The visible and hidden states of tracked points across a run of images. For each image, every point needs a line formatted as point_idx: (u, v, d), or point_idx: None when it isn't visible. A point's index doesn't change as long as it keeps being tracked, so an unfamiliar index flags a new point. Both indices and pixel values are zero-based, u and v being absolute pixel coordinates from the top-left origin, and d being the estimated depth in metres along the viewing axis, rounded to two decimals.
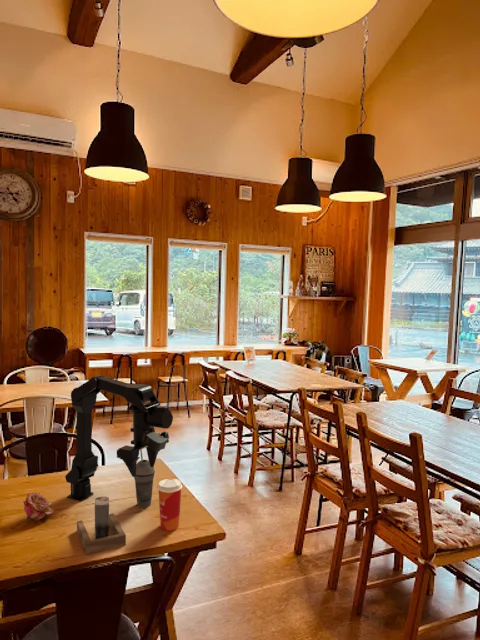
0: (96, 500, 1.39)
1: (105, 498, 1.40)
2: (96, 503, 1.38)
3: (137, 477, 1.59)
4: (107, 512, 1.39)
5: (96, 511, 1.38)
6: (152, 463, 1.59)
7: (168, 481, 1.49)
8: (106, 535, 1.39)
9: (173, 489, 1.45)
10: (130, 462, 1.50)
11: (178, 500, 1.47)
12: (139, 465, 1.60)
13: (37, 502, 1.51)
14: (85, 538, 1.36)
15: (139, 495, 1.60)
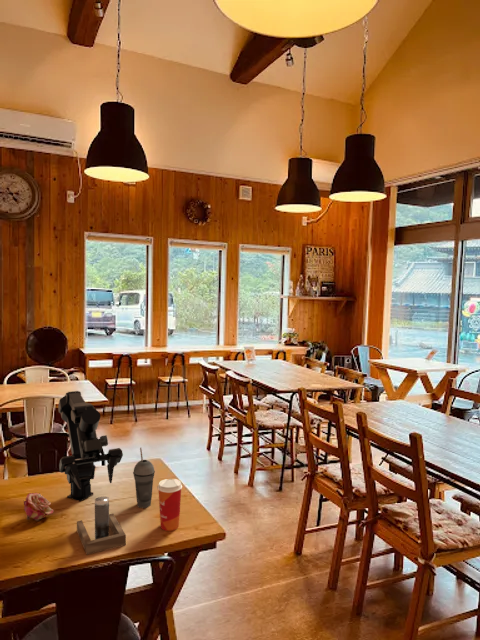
0: (96, 500, 1.39)
1: (105, 498, 1.40)
2: (96, 503, 1.38)
3: (137, 477, 1.59)
4: (107, 512, 1.39)
5: (96, 511, 1.38)
6: (109, 478, 1.49)
7: (168, 481, 1.49)
8: (106, 535, 1.39)
9: (173, 489, 1.45)
10: (73, 474, 1.46)
11: (178, 500, 1.47)
12: (139, 465, 1.60)
13: (37, 502, 1.51)
14: (85, 538, 1.36)
15: (139, 495, 1.60)
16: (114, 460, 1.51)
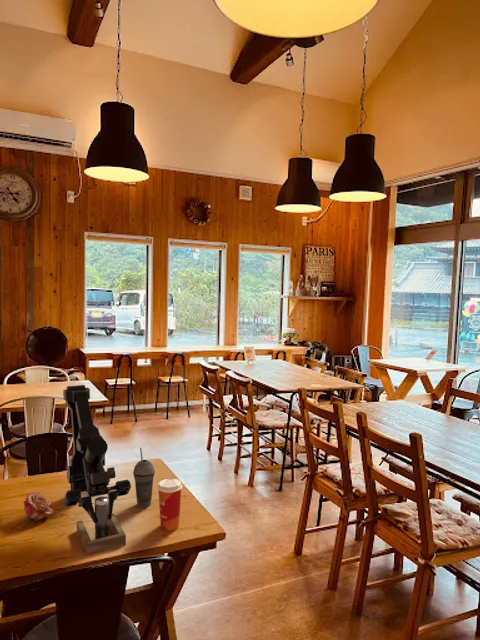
0: (96, 500, 1.39)
1: (105, 498, 1.40)
2: (96, 503, 1.38)
3: (137, 477, 1.59)
4: (107, 512, 1.39)
5: (96, 511, 1.38)
6: (109, 514, 1.40)
7: (168, 481, 1.49)
8: (106, 535, 1.39)
9: (173, 489, 1.45)
10: (88, 507, 1.40)
11: (178, 500, 1.47)
12: (139, 465, 1.60)
13: (37, 502, 1.51)
14: (85, 538, 1.36)
15: (139, 495, 1.60)
16: (114, 495, 1.42)
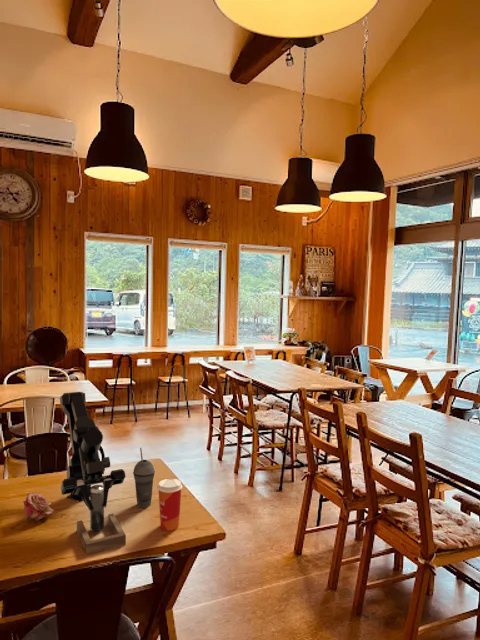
0: (91, 488, 1.44)
1: (101, 486, 1.45)
2: (91, 491, 1.43)
3: (137, 477, 1.59)
4: (102, 500, 1.44)
5: (91, 499, 1.43)
6: (104, 502, 1.45)
7: (168, 481, 1.49)
8: (101, 522, 1.44)
9: (173, 489, 1.45)
10: (84, 495, 1.45)
11: (178, 500, 1.47)
12: (139, 465, 1.60)
13: (37, 502, 1.51)
14: (85, 538, 1.36)
15: (139, 495, 1.60)
16: (109, 483, 1.48)
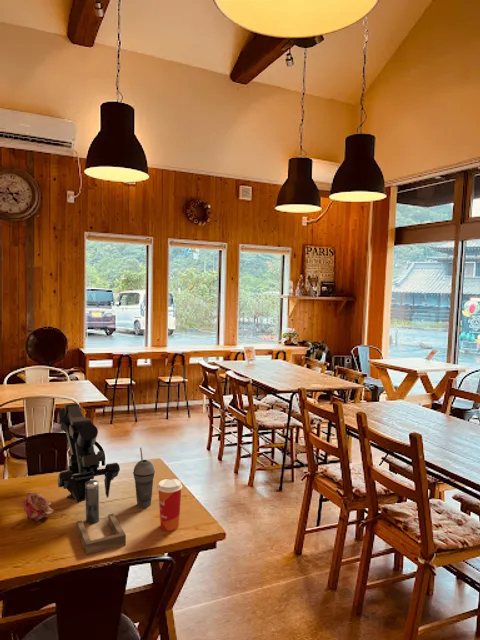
0: (86, 483, 1.50)
1: (95, 481, 1.51)
2: (86, 486, 1.49)
3: (137, 477, 1.59)
4: (97, 494, 1.50)
5: (86, 493, 1.49)
6: (106, 492, 1.52)
7: (168, 481, 1.49)
8: (96, 515, 1.50)
9: (173, 489, 1.45)
10: (72, 488, 1.50)
11: (178, 500, 1.47)
12: (139, 465, 1.60)
13: (37, 502, 1.51)
14: (85, 538, 1.36)
15: (139, 495, 1.60)
16: (111, 475, 1.55)
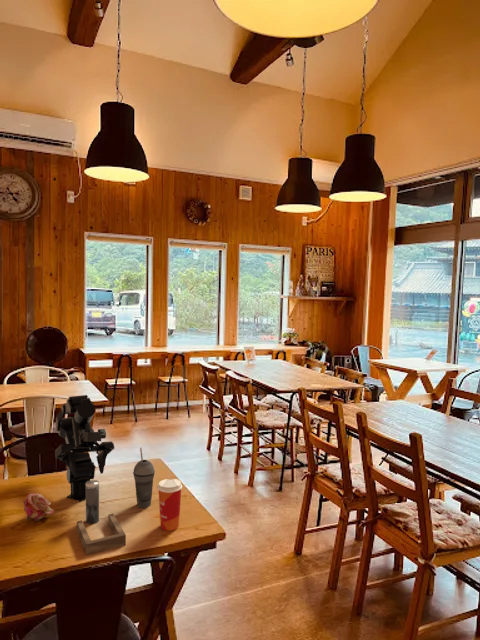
0: (87, 483, 1.50)
1: (96, 481, 1.51)
2: (87, 486, 1.49)
3: (137, 477, 1.59)
4: (97, 494, 1.50)
5: (87, 493, 1.49)
6: (101, 469, 1.59)
7: (168, 481, 1.49)
8: (96, 515, 1.50)
9: (173, 489, 1.45)
10: (69, 461, 1.54)
11: (178, 500, 1.47)
12: (139, 465, 1.60)
13: (37, 502, 1.51)
14: (85, 538, 1.36)
15: (139, 495, 1.60)
16: (107, 452, 1.62)
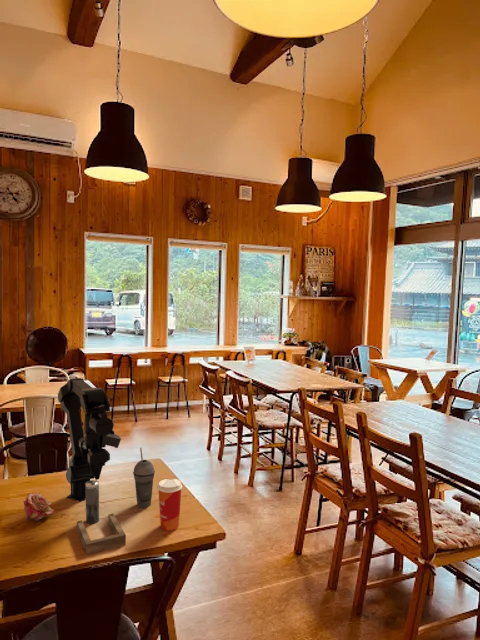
0: (87, 483, 1.50)
1: (96, 481, 1.51)
2: (87, 486, 1.49)
3: (137, 477, 1.59)
4: (97, 494, 1.50)
5: (87, 493, 1.49)
6: None
7: (168, 481, 1.49)
8: (96, 515, 1.50)
9: (173, 489, 1.45)
10: (97, 465, 1.51)
11: (178, 500, 1.47)
12: (139, 465, 1.60)
13: (37, 502, 1.51)
14: (85, 538, 1.36)
15: (139, 495, 1.60)
16: None
